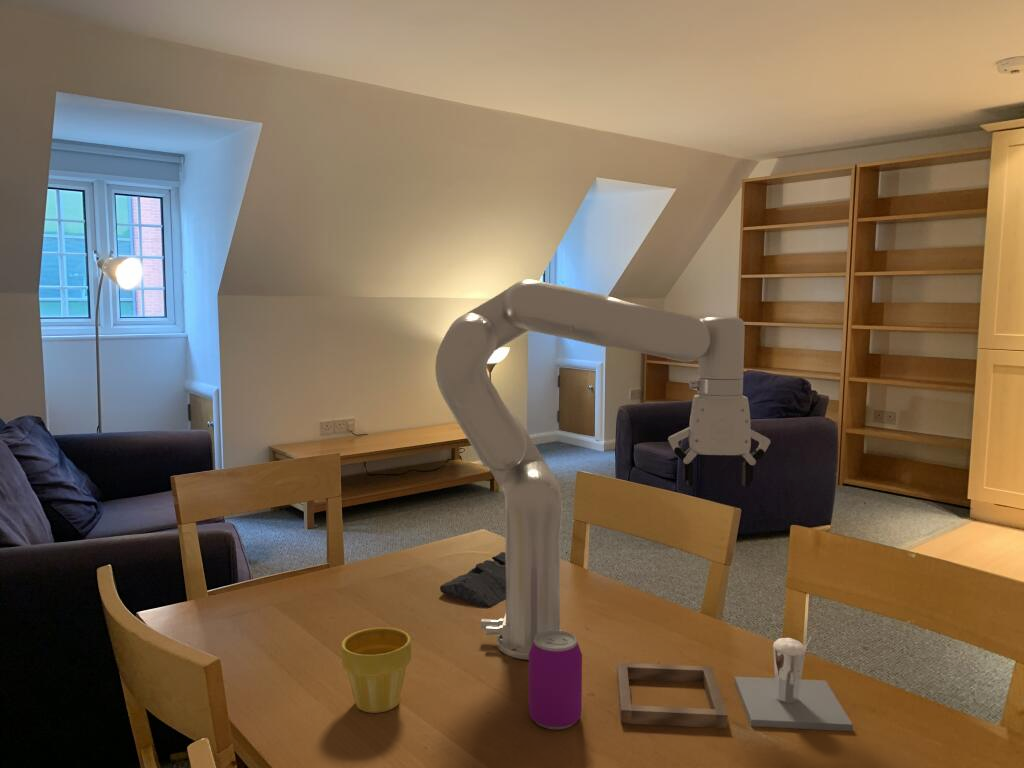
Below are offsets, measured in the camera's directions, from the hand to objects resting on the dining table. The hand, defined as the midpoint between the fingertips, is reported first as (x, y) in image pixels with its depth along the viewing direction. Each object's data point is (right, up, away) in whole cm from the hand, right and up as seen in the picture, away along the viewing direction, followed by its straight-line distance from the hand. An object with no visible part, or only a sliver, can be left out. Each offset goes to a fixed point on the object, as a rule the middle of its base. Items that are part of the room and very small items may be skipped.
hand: (717, 485), depth 138 cm
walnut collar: (-12, -30, -18) cm, 37 cm away
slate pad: (+6, -31, -19) cm, 37 cm away
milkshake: (+6, -30, -19) cm, 36 cm away
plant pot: (-56, -31, -18) cm, 67 cm away
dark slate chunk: (-41, -26, +30) cm, 57 cm away
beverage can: (-30, -31, -23) cm, 49 cm away
